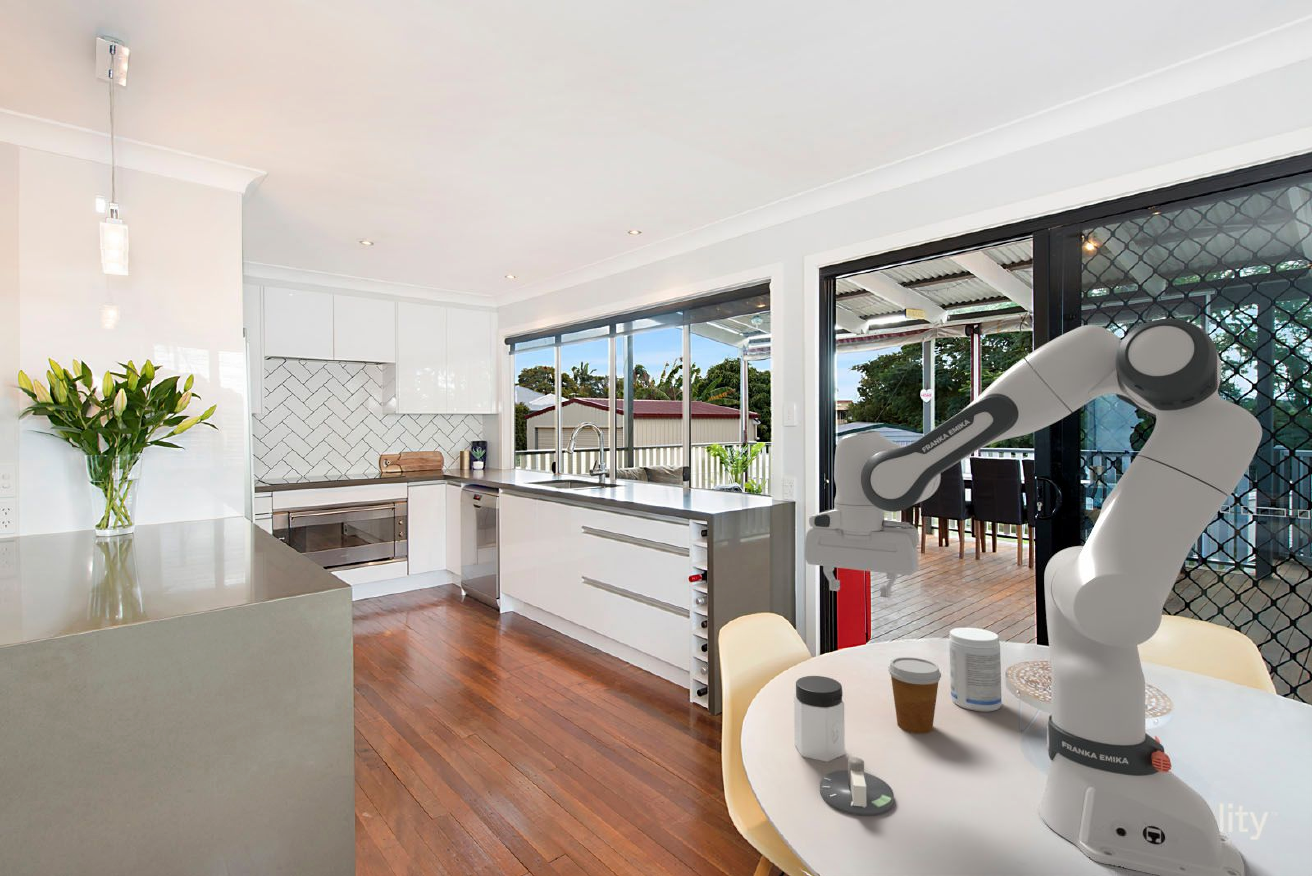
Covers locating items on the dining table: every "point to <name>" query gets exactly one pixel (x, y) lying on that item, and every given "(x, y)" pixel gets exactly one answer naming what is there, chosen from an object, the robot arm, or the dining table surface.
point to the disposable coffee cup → (914, 692)
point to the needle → (857, 781)
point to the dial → (841, 797)
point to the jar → (819, 718)
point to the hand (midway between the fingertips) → (859, 593)
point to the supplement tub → (975, 669)
